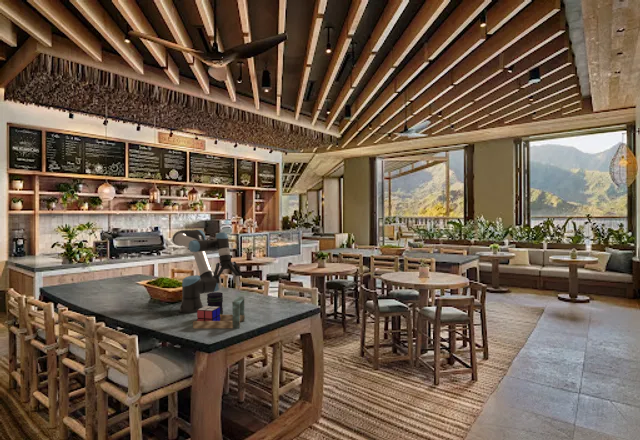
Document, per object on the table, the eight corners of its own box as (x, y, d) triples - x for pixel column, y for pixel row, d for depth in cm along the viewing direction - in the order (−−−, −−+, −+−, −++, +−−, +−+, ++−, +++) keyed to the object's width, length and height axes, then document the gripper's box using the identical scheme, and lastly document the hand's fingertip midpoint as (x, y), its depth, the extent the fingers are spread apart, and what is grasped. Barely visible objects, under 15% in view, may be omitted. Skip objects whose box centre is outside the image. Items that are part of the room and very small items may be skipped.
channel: (193, 328, 221) (192, 302, 221) (201, 321, 236) (200, 296, 236) (239, 328, 222) (239, 302, 221) (244, 320, 237) (244, 296, 236)
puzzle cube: (212, 327, 223) (212, 310, 223) (196, 326, 225) (196, 309, 225) (220, 322, 233) (220, 306, 233) (205, 322, 235) (205, 305, 235)
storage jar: (217, 314, 253) (216, 291, 253) (226, 316, 247) (226, 293, 247) (204, 317, 246) (203, 294, 246) (213, 319, 240) (212, 296, 239)
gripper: (210, 255, 242) (215, 288, 238) (243, 253, 260) (248, 283, 255) (204, 257, 247) (209, 290, 243) (237, 255, 265) (242, 285, 260)
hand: (229, 287), depth 249 cm, fingers open, 13 cm apart
